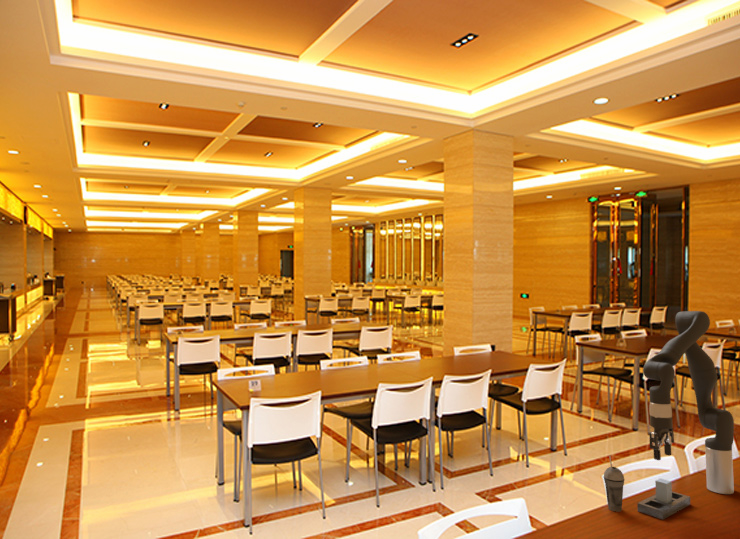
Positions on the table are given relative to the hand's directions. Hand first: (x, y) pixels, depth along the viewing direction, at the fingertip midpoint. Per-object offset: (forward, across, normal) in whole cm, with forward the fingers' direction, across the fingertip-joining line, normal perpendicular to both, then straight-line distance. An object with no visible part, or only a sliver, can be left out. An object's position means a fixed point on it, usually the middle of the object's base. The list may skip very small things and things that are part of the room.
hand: (662, 457), depth 193 cm
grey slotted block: (+19, 0, 0) cm, 19 cm away
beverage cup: (+19, +16, -11) cm, 27 cm away
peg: (+19, 0, 0) cm, 19 cm away
